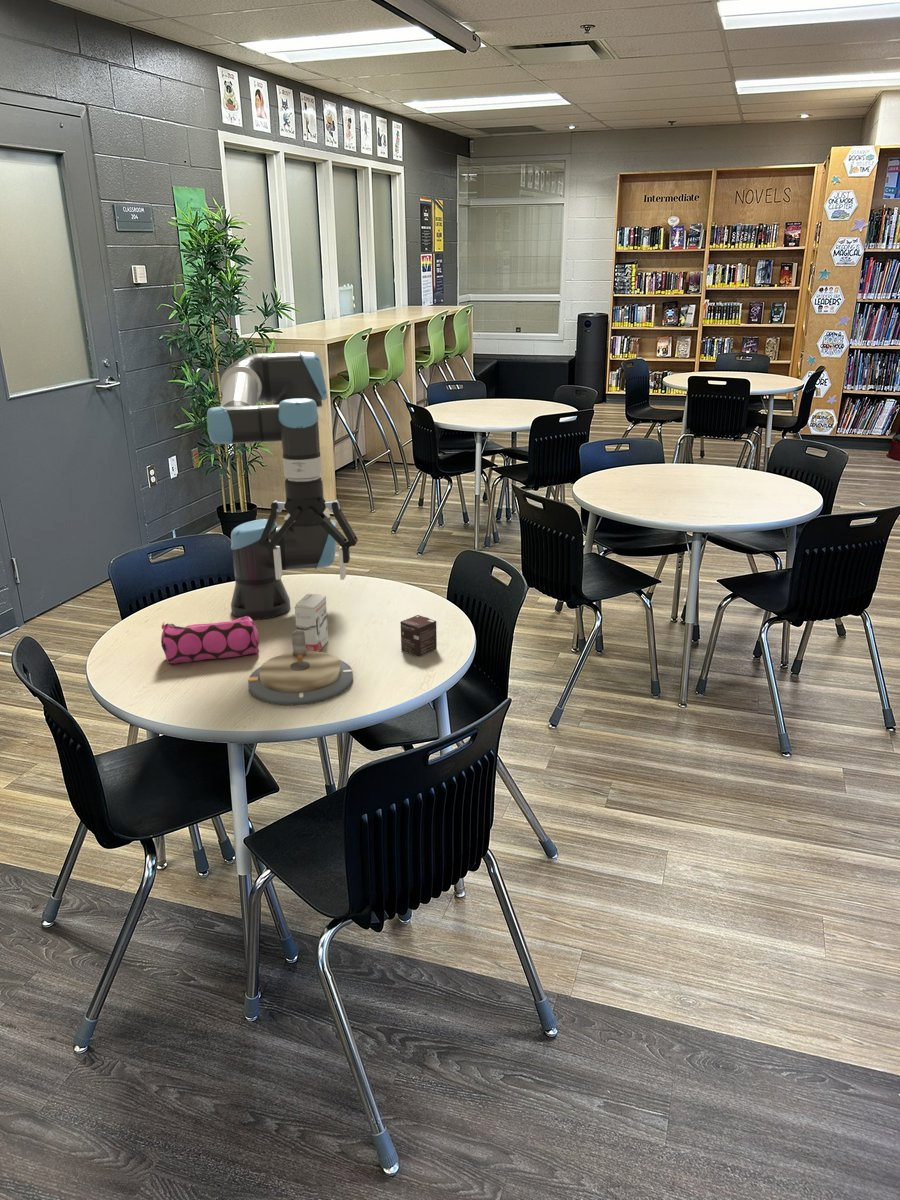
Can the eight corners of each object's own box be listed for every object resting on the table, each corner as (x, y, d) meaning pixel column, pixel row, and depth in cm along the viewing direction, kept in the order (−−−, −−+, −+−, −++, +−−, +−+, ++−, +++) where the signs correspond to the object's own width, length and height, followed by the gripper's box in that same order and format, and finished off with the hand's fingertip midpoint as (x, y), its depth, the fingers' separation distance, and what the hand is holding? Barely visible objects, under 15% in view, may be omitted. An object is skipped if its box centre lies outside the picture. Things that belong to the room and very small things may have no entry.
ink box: (317, 655, 204) (313, 606, 200) (296, 654, 205) (292, 605, 201) (329, 641, 212) (326, 594, 208) (309, 640, 213) (306, 593, 209)
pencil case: (164, 672, 197) (158, 630, 193) (164, 656, 206) (158, 616, 202) (262, 659, 202) (257, 618, 199) (258, 644, 211) (254, 604, 208)
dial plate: (251, 666, 199) (250, 658, 198) (349, 657, 202) (349, 650, 201) (246, 709, 178) (245, 701, 178) (356, 699, 182) (355, 691, 181)
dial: (261, 663, 196) (258, 633, 194) (338, 656, 199) (336, 627, 196) (258, 696, 180) (255, 664, 178) (342, 688, 183) (340, 657, 181)
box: (400, 651, 205) (399, 621, 203) (419, 643, 209) (418, 614, 207) (419, 657, 201) (418, 627, 199) (437, 650, 205) (436, 620, 203)
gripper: (237, 482, 177) (247, 583, 184) (361, 481, 175) (367, 583, 182) (247, 474, 184) (257, 572, 191) (367, 473, 182) (372, 572, 189)
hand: (311, 577), depth 186 cm, fingers open, 13 cm apart
